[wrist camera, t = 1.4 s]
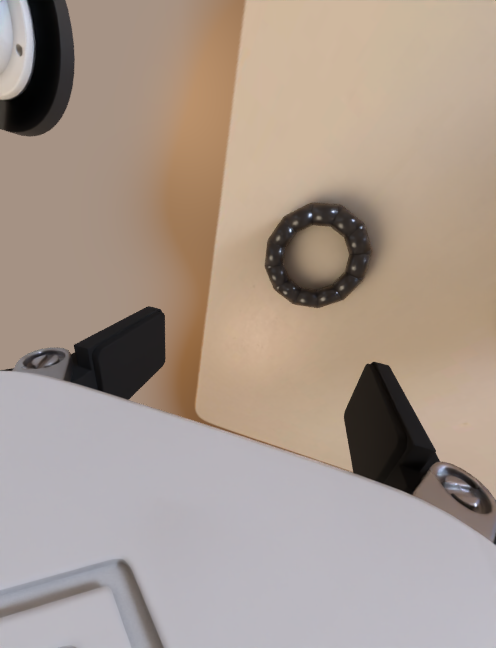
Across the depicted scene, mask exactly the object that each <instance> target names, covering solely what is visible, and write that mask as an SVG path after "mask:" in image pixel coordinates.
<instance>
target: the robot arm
mask: <svg viewBox="0 0 496 648" xmlns="http://www.w3.org/2000/svg"><path fill="white" fill-rule="evenodd" d="M35 59H36V40H35V30H34V23H33V19H32V14H31V9H30V6H29V3H28V0H0V100H3V101H4V100H12V99H15V98H17V97H19V96H20V95H21V94H22V93H23V92H24V91H25V90H26V88H27V86H28V85H29V83H30V81H31V78H32V75H33V71H34V66H35ZM74 349H75V353H73V354H70V352H69V351H68V350H66V349H64V348H46V349H40V350H37V351H34V352H32V353H29V354H27V355H25V356H23V357H22V358H21V359H20V360H19V361H18V362H17V364H16V365H15V367H14V368H13V369H6V370H0V648H496V500H495V498H494V497H493V496H492V494H491V493H490V492H489V490H488V489H487V488H486V487H485V486H484V485H483V484H482V483H481V482H480V481H478V480H477V479H476V478H475V477H473V476H472V475H471V474H469V473H468V472H466V471H465V470H463V469H461V468H459V467H457V466H455V465H453V464H450V463H446V462H440V461H439V459H438V457H437V455H436V453H435V452H436V450H435V448H434V446H433V445H432V443H431V441H430V439H429V437H428V436H427V434H426V432H425V430H424V428H423V426H422V425H421V423H420V421H419V419H418V417H417V416H416V414H415V412H414V410H413V408H412V406H411V405H410V403H409V401H408V399H407V397H406V396H405V394H404V392H403V390H402V388H401V386H400V385H399V383H398V381H397V379H396V377H395V376H394V374H393V372H392V370H391V368H390V367H389V365H385V364H381V363H377V362H372V363H371V364H367V365H366V366H365V368H364V370H363V372H362V374H361V377H360V379H359V381H358V383H357V386H356V388H355V390H354V392H353V394H352V397H351V399H350V401H349V403H348V405H347V408H346V410H345V413H344V421H345V426H346V432H347V438H348V444H349V449H350V455H351V461H352V467H353V473H352V472H349V471H345V470H342V469H339V468H336V467H333V466H331V465H328V464H325V463H322V462H319V461H316V460H313V459H310V458H307V457H303V456H300V455H297V454H294V453H291V452H288V451H285V450H282V449H279V448H276V447H273V446H270V445H267V444H264V443H261V442H258V441H255V440H252V439H249V438H246V437H243V436H239V435H236V434H233V433H230V432H227V431H224V430H221V429H218V428H215V427H212V426H209V425H205V424H202V423H199V422H196V421H193V420H190V419H187V418H184V417H181V416H177V415H174V414H171V413H168V412H165V411H162V410H159V409H155V408H152V407H149V406H146V405H142V404H140V403H136V402H133V401H130V400H129V399H130V398H131V397H132V396H133V395H134V394H135V393H136V392H137V391H138V390H139V389H140V388H141V387H142V386H143V385H144V384H145V383H146V382H147V381H148V380H149V379H150V378H151V377H152V376H153V375H154V374H155V373H156V372H157V371H158V370H159V369H160V368H161V367H162V366H163V365H164V363H165V315H164V313H162V311H161V310H160V309H157V308H153V307H146V308H144V309H142V310H140V311H138V312H136V313H134V314H133V315H130V316H129V317H127V318H125V319H123V320H121V321H119V322H117V323H115V324H113V325H111V326H110V327H107V328H106V329H104V330H102V331H100V332H98V333H96V334H94V335H92V336H90V337H88V338H87V339H85V340H83V341H81V342H79V343H77V344H75V345H74Z"/></svg>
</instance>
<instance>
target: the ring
mask: <svg viewBox="0 0 496 648" xmlns="http://www.w3.org/2000/svg"><path fill="white" fill-rule="evenodd" d="M312 225H318V226H329V227H332V228H333V229H334V230H336V231H337V232H338V233H339V234H341V235H342V236H343V237H344V238H345V241H346V244H347V248H348V251H349V258H348V262H347V266H346V270H345V272H344V273H343V274H342V275H341V276H340V277H339V278H338V280H337V281H336V282H335V283H334V284H333V285H330V286H327V287H324V288H322V289H319V290H312V289H305V288H300V287H299V286H298V285H297V284H295V283H294V282H293V281H291V280H290V279H289V278H288V275H287V273H286V270H285V268H284V265H283V260H284V253H285V247H286V246H287V244H288V243H289V242H290V240H291V239H292V237H293V236H294V235H295V233H297V232H299V231H301V230H303V229H305V228H307V227H309V226H312ZM371 253H372V250H371V246H370V242H369V239H368V235H367V231H366V228H365V225H364V223H363V222H362V221H361V220H360V219H358V218H357V217H356V216H355V215H353V214H352V213H351V212H350V211H348V210H347V209H346V208H345V207H343V206H342V205H337V204H324V203H310V204H307V205H305V206H303V207H301V208H299V209H297V210H296V211H294V212H292V213H290V214H288V215H286V216H284V217H283V219H282V220H281V221H280V223H279V224H278V226H277V227H276V229H275V230H274V232H273V233H272V235H271V236H270V237H269V239H268V242H267V250H266V259H265V269H266V271H267V273H268V276H269V278H270V281H271V283H272V285H273V288H274V289H275V290H276V291H277V292H278V293H279V294H281V295H282V296H283V297H285V298H286V299H287V300H288V301H290V302H291V303H292V304H295V305H301V306H307V307H314V308H320V307H323V306H326V305H329V304H332V303H335V302H338V301H341V300H343V299H345V298H346V297H347V296H348V295H349V294H350V293H351V292H352V291H353V290H354V289H355V288H356V287H357V286H358V285H359V284H360V283H361V282H362V281H363V279H364V277H365V274H366V270H367V267H368V264H369V260H370V257H371Z"/></svg>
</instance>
